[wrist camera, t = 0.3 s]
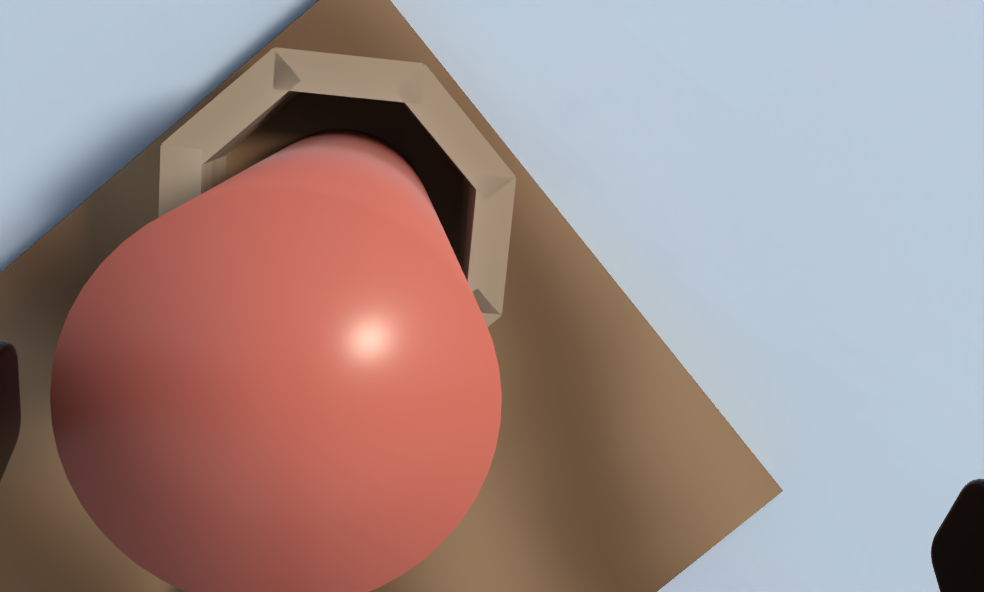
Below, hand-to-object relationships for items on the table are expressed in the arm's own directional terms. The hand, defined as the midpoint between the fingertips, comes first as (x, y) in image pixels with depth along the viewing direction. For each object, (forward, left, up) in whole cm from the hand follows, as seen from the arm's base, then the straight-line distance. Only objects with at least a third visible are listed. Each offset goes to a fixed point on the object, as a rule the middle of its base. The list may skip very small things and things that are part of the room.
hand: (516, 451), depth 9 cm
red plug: (-1, +2, -14) cm, 14 cm away
